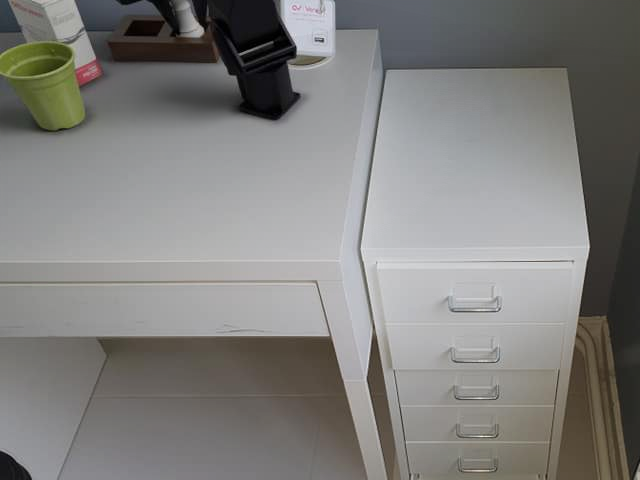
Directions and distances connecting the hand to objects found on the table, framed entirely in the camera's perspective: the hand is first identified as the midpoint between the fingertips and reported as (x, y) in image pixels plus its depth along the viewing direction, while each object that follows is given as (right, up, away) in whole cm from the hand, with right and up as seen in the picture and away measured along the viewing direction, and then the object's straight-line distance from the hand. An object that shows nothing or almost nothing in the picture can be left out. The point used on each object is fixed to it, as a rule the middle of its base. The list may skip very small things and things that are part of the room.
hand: (190, 29), depth 110 cm
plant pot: (-13, -17, -10) cm, 24 cm away
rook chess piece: (0, -1, +2) cm, 2 cm away
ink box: (-16, -8, -3) cm, 18 cm away
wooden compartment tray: (-4, -2, +2) cm, 5 cm away
